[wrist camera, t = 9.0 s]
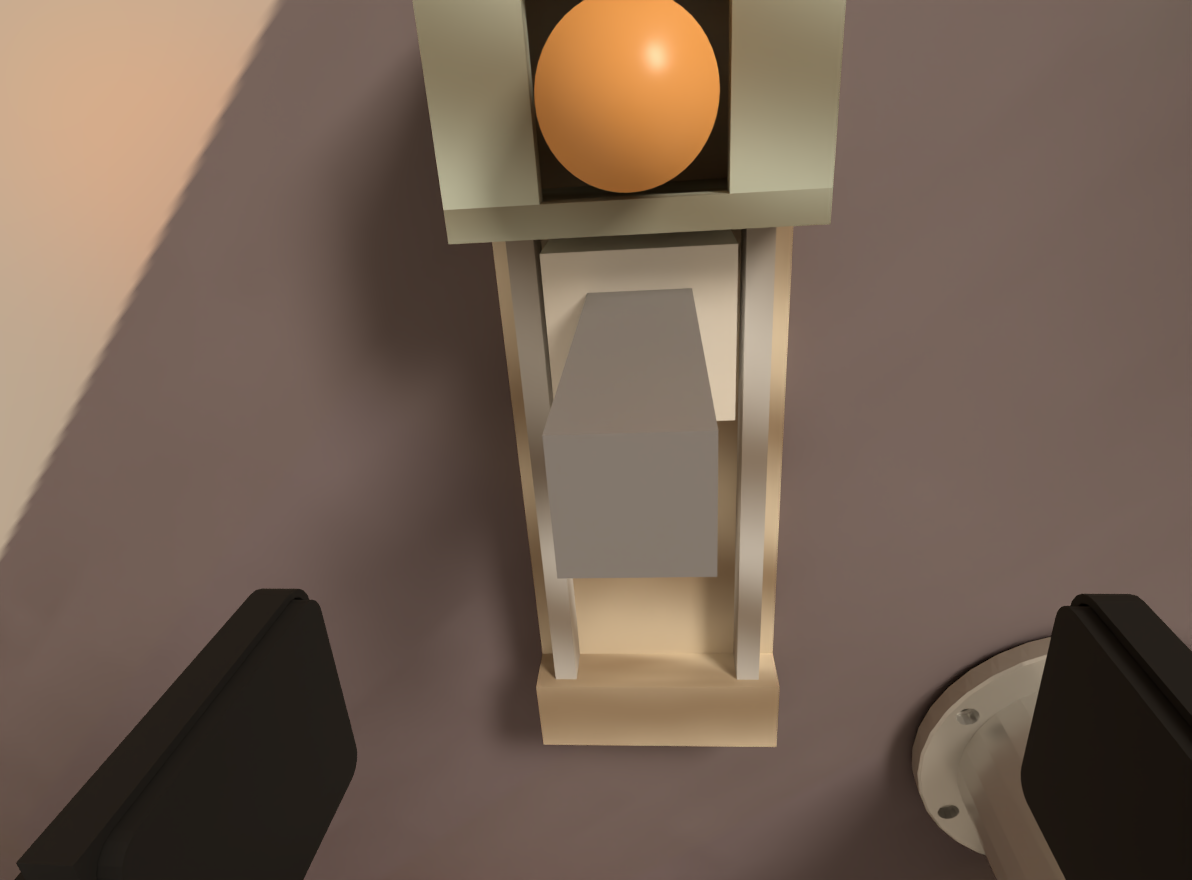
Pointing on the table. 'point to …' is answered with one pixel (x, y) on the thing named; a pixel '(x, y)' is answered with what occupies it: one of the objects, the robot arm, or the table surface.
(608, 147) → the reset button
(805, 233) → the table surface
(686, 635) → the board
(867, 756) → the table surface
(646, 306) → the carriage
